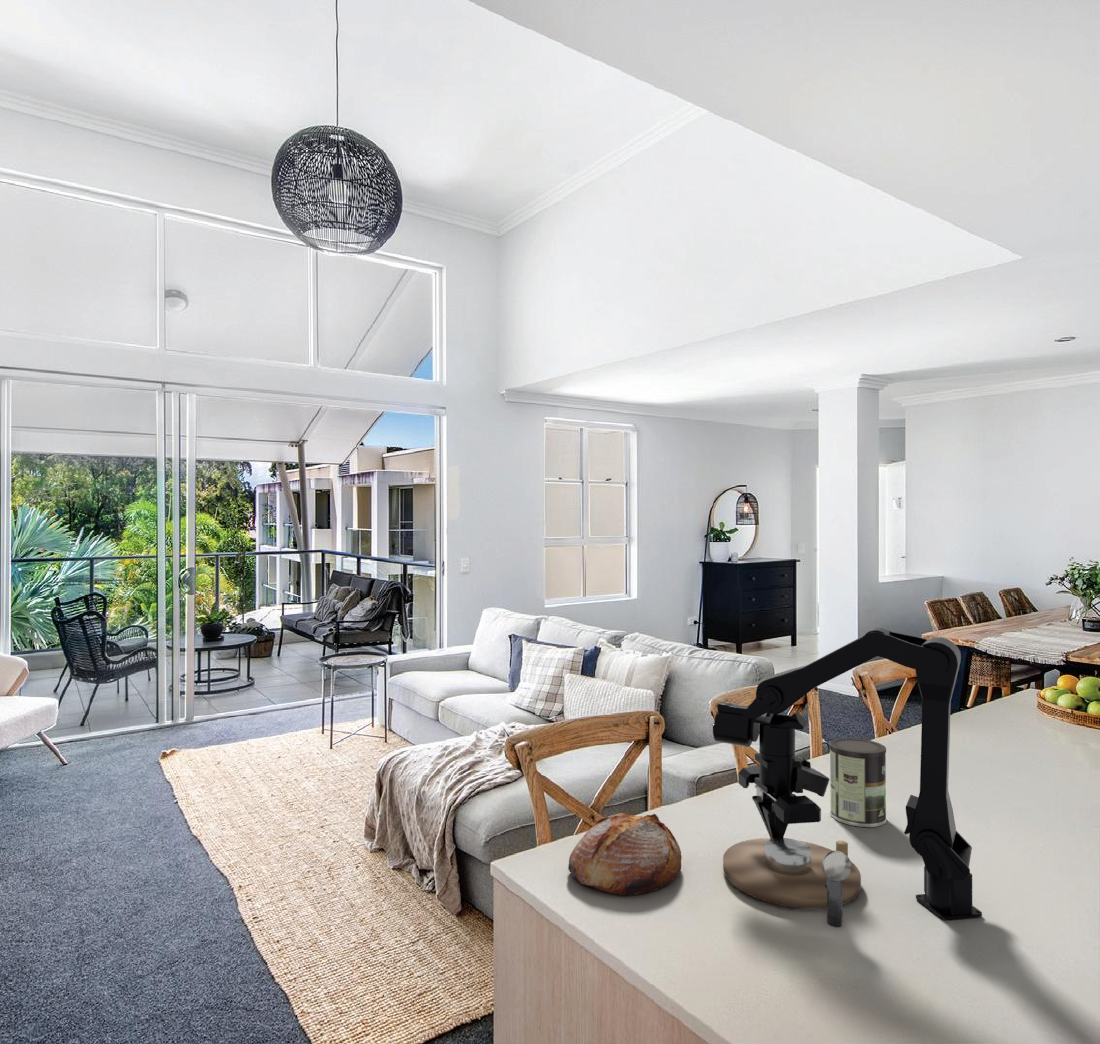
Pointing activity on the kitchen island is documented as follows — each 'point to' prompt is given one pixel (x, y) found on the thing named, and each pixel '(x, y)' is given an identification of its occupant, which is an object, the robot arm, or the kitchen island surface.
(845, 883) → the disc
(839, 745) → the coffee can
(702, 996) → the kitchen island surface
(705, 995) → the kitchen island surface
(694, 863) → the kitchen island surface
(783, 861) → the cover
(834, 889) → the ice cream scoop
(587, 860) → the bread
